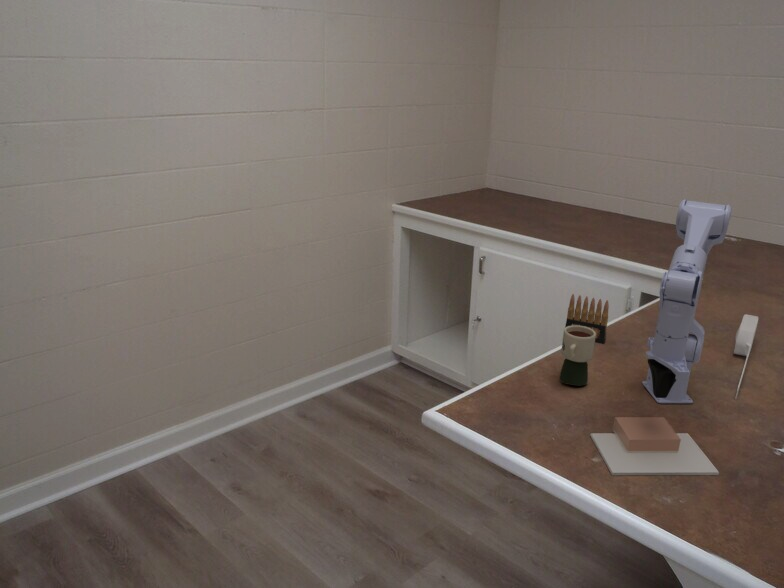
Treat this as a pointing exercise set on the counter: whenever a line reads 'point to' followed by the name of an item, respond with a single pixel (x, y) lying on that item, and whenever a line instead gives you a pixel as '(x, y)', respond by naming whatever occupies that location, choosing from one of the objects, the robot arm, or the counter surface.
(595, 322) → the ammunition clip
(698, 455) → the board
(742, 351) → the white long handled piece
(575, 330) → the character mug
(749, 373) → the counter surface
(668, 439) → the tile
